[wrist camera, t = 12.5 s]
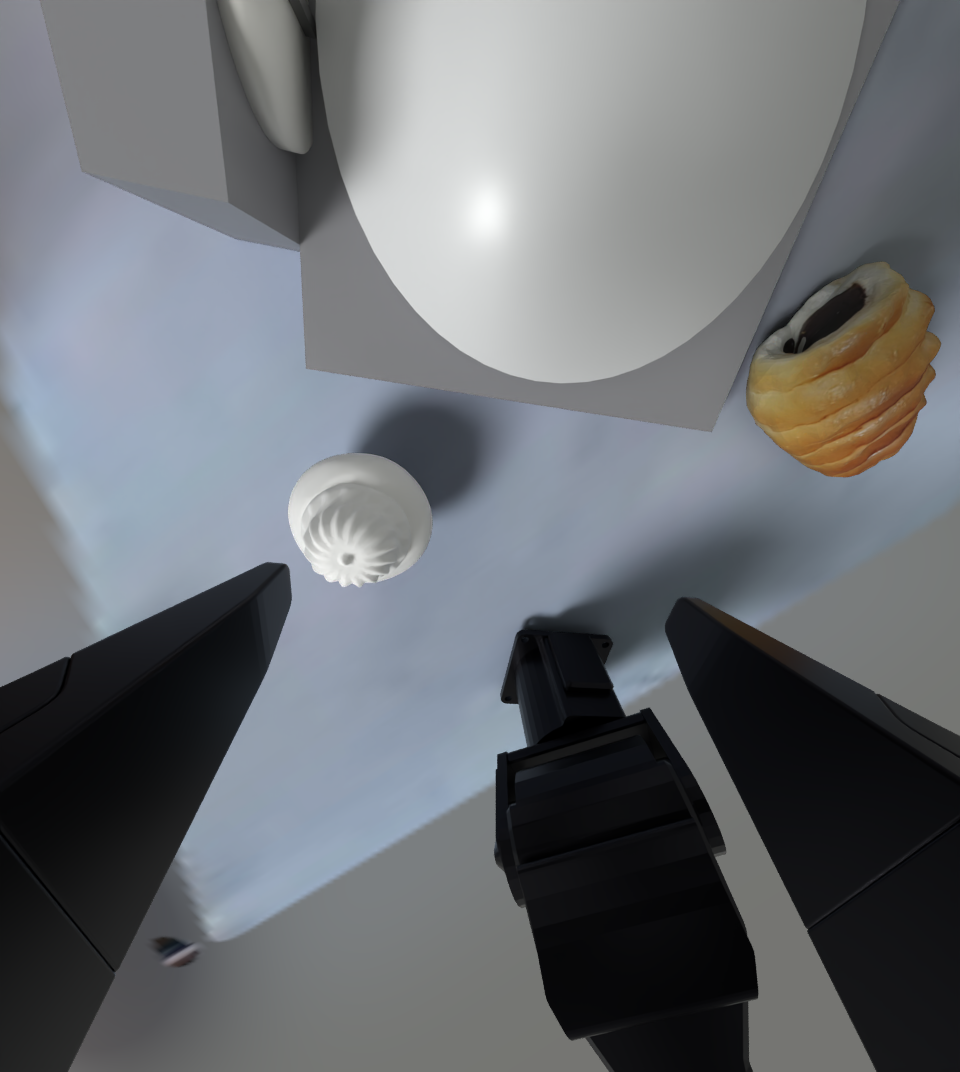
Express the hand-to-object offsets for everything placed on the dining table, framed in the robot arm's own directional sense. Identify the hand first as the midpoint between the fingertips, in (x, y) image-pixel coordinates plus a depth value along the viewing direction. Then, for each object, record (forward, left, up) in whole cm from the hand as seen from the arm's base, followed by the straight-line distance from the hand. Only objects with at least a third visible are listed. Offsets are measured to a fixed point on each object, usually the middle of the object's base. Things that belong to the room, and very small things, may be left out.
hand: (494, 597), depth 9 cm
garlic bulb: (-3, +4, -12) cm, 13 cm away
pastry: (+3, -17, -13) cm, 21 cm away
